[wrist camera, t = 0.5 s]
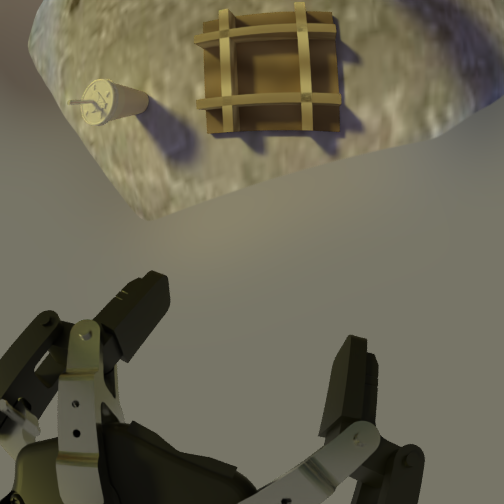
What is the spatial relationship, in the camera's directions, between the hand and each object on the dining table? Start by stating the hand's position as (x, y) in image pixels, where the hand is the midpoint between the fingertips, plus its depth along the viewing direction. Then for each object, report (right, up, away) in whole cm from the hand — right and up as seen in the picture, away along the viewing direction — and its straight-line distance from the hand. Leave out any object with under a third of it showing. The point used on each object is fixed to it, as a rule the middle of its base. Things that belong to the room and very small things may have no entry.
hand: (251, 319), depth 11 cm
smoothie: (-17, +26, +23) cm, 38 cm away
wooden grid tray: (+2, +26, +18) cm, 32 cm away
